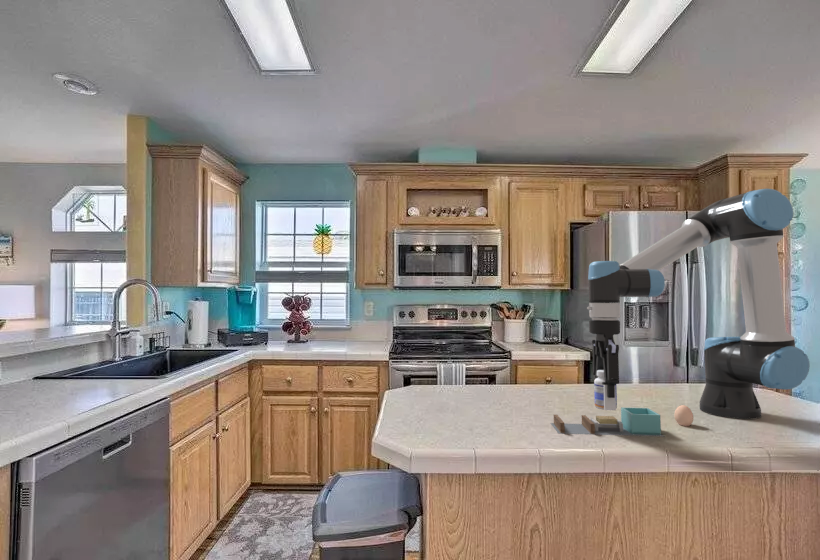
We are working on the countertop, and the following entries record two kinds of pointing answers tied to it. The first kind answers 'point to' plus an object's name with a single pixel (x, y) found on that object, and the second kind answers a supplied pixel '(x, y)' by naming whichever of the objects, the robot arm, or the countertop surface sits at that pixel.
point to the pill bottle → (600, 390)
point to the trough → (585, 422)
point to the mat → (582, 430)
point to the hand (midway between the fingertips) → (605, 406)
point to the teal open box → (641, 421)
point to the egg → (683, 415)
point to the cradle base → (608, 426)
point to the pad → (606, 419)
